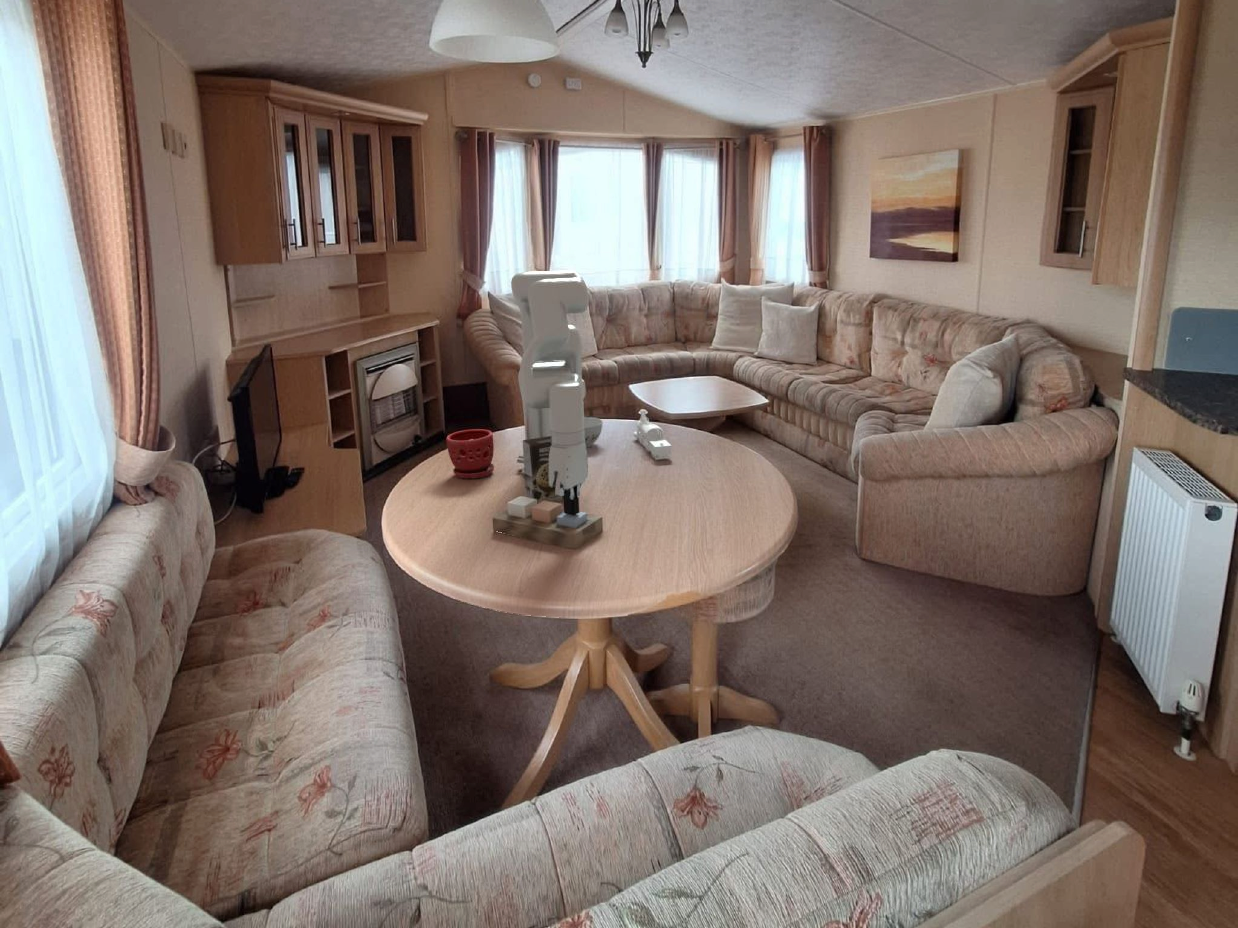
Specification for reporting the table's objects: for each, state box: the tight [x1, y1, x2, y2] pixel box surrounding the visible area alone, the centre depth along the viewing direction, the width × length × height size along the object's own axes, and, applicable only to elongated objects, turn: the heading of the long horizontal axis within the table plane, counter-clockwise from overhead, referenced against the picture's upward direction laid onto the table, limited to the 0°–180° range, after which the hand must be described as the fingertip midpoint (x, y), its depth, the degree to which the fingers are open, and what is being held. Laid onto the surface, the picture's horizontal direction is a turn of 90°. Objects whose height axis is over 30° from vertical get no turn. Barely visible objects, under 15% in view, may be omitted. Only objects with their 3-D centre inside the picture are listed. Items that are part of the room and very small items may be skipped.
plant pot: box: [445, 428, 495, 479], centre depth 232 cm, size 13×13×12 cm
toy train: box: [632, 408, 672, 461], centre depth 253 cm, size 6×30×10 cm, turn 13°
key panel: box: [491, 508, 604, 550], centre depth 191 cm, size 23×12×4 cm, turn 60°
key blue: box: [557, 511, 588, 528], centre depth 187 cm, size 5×5×4 cm
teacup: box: [584, 416, 604, 448], centre depth 259 cm, size 15×12×8 cm
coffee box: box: [522, 436, 563, 504], centre depth 210 cm, size 9×6×16 cm
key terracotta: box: [531, 501, 563, 523], centre depth 190 cm, size 5×5×4 cm
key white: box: [506, 495, 537, 518], centre depth 193 cm, size 5×5×4 cm
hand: (571, 513), depth 187 cm, fingers closed
